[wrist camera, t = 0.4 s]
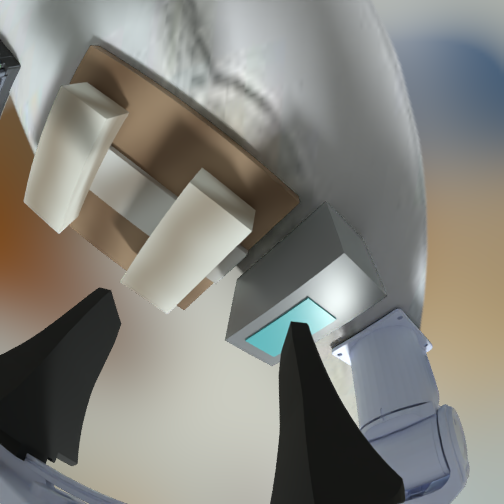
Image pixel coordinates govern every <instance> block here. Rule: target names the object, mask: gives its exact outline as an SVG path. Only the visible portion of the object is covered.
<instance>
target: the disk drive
mask: <svg viewBox="0 0 504 504" xmlns="http://www.w3.org/2000/svg"><path fill="white" fill-rule="evenodd" d="M20 67H21V65H20V64H19V63H18V61H17V60H16V59H15V57H14V56H13V54H12V53H11V52H10V51H9V50H8V49H7V47H6V46H5V45H4V44H3V42H2V41H1V40H0V117H1V115H2V112H3V110H4V107H5V104H6V102H7V99H8V97H9V95H10V93H9V91H10V89H11V86H12V84H13V82H14V80H15V78H16V76H17V74H18V72H19V70H20Z"/></svg>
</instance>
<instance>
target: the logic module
mask: <svg viewBox="0 0 504 504" xmlns="http://www.w3.org/2000/svg"><path fill="white" fill-rule="evenodd" d="M386 296H387V295H386V292H385V290H384V287H383V285H382V282H381V280H380V277H379V275H378V273H377V270H376V268H375V266H374V263H373V261H372V259H371V256H370V254H369V252H368V250H367V248H366V245H365V243H364V241H363V239H362V238H361V237H360V236H359V235H358V233H357V232H356V231H355V230H354V229H353V228H352V227H351V226H350V225H349V224H348V223H347V222H346V221H345V220H344V219H343V218H342V217H341V216H340V215H339V214H338V213H337V212H336V211H335V210H334V209H333V208H332V207H331V206H330V205H329V204H328V203H327V202H324V203H323V204H322V205H321V206H320V207H319V208H318V209H317V210H316V211H314V212H313V213H312V214H311V215H310V216H309V217H308V218H307V219H305V220H304V221H303V222H302V223H301V224H300V225H299V226H298V227H296V228H295V229H294V230H293V231H292V232H291V233H290V234H289V235H287V236H286V237H285V238H284V239H283V240H282V241H281V242H279V243H278V244H277V245H276V246H275V247H274V248H273V249H272V250H270V251H269V252H268V253H267V254H266V255H265V256H264V257H262V258H261V259H260V260H259V261H258V262H257V263H256V264H254V265H253V266H252V267H251V268H250V269H249V270H248V271H246V272H245V273H244V274H242V275H241V276H240V277H239V278H238V279H237V282H236V287H235V292H234V297H233V302H232V307H231V312H230V318H229V322H228V328H227V333H226V338H225V341H227V342H229V343H231V344H233V345H234V346H236V347H238V348H240V349H241V350H243V351H245V352H247V353H248V354H250V355H252V356H254V357H256V358H258V359H259V360H262V361H263V362H265V363H267V364H269V365H271V366H273V365H275V364H277V363H279V362H280V356H281V351H282V347H283V344H284V341H285V338H286V335H287V332H288V328H289V325H290V322H291V321H293V322H303V323H307V324H308V325H309V328H310V331H311V334H312V337H313V340H314V343H315V342H317V341H318V340H320V339H322V338H323V337H325V336H327V335H328V334H330V333H332V332H333V331H335V330H337V329H338V328H340V327H341V326H343V325H345V324H346V323H348V322H349V321H351V320H352V319H354V318H355V317H357V316H358V315H360V314H362V313H363V312H365V311H366V310H367V309H369V308H370V307H372V306H373V305H375V304H376V303H378V302H379V301H381V300H382V299H383V298H385V297H386Z"/></svg>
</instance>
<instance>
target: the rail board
mask: <svg viewBox="0 0 504 504" xmlns="http://www.w3.org/2000/svg"><path fill="white" fill-rule="evenodd" d="M24 203H26V204H27V205H28V206H29V207H30V208H31V209H32V210H33V211H34V212H35V213H36V214H37V215H38V216H40V217H41V218H42V219H43V220H44V221H45V222H46V223H47V224H48V225H49V226H51V227H52V228H53V229H54V230H55V231H56V232H58V233H60V232H62V231H63V230H64V229H65V228H66V227H67V226H68V225H69V226H70V227H71V228H73V229H74V230H75V231H76V232H77V233H78V234H80V235H81V236H82V237H83V238H85V239H86V240H87V241H88V242H90V243H91V244H92V245H93V246H95V247H96V248H97V249H98V250H100V251H101V252H102V253H104V254H105V255H107V256H108V257H109V258H110V259H111V260H113V261H114V262H115V263H117V264H118V265H120V266H121V267H122V268H124V269H125V270H126V271H127V272H126V273H125V275H124V276H123V278H122V280H121V281H120V282H121V283H122V284H124V285H125V286H127V287H128V288H129V289H131V290H132V291H134V292H135V293H136V294H138V295H139V296H141V297H142V298H144V299H145V300H147V301H148V302H150V303H151V304H153V305H154V306H156V307H157V308H159V309H160V310H162V311H163V312H165V313H166V314H168V313H169V312H170V311H171V310H172V309H173V308H174V307H175V306H176V305H177V306H178V307H180V308H181V309H183V310H185V309H186V308H187V307H188V306H189V305H190V304H191V303H192V302H193V301H195V300H196V299H197V298H198V297H199V296H200V295H201V294H202V293H203V292H204V291H205V290H206V289H207V288H208V287H210V285H212V284H213V283H215V284H216V283H217V282H218V281H220V280H221V279H222V278H223V277H224V276H225V275H226V274H227V273H228V272H229V271H230V270H232V268H234V267H235V266H236V265H237V264H238V263H239V262H240V261H241V260H242V259H243V258H245V257H246V256H247V254H248V250H249V249H250V248H252V247H253V246H254V245H255V244H256V243H257V242H258V241H259V240H260V239H261V238H262V237H263V236H264V235H266V234H267V233H268V232H269V231H270V230H271V229H272V228H273V227H274V226H275V225H276V224H277V223H278V222H280V221H281V220H282V219H283V218H284V217H285V216H286V215H287V214H288V213H289V212H290V211H291V210H293V209H294V208H295V207H296V206H297V205H298V204H299V203H300V201H299V196H298V195H296V194H295V193H294V192H293V191H292V190H291V189H290V188H289V187H288V186H287V185H285V184H284V183H283V182H282V181H281V180H280V179H279V178H277V177H276V176H275V175H274V174H273V173H272V172H271V171H269V170H268V169H267V168H266V167H265V166H264V165H262V164H261V163H260V162H259V161H258V160H257V159H255V158H254V157H253V156H252V155H251V154H249V153H248V152H247V151H246V150H245V149H243V148H242V147H241V146H240V145H239V144H237V143H236V142H235V141H234V140H232V139H231V138H230V137H229V136H227V135H226V134H225V133H224V132H222V131H221V130H220V129H219V128H217V127H216V126H215V125H213V124H212V123H211V122H210V121H208V120H207V119H206V118H204V117H203V116H202V115H200V114H199V113H198V112H196V111H195V110H194V109H192V108H191V107H190V106H188V105H187V104H186V103H184V102H183V101H182V100H180V99H179V98H177V97H176V96H175V95H173V94H172V93H170V92H169V91H168V90H166V89H165V88H163V87H162V86H161V85H159V84H158V83H156V82H155V81H153V80H152V79H150V78H149V77H147V76H146V75H144V74H143V73H141V72H140V71H138V70H137V69H135V68H134V67H132V66H131V65H129V64H128V63H126V62H124V61H123V60H121V59H120V58H118V57H117V56H115V55H113V54H112V53H110V52H108V51H107V50H105V49H103V48H102V47H100V46H94V45H90V47H89V49H88V50H87V52H86V54H85V55H84V57H83V59H82V61H81V63H80V64H79V66H78V68H77V70H76V72H75V74H74V76H73V78H72V80H71V82H70V84H69V85H63V86H61V87H60V89H59V91H58V94H57V96H56V98H55V101H54V103H53V105H52V108H51V110H50V113H49V115H48V118H47V121H46V123H45V126H44V129H43V132H42V134H41V137H40V140H39V144H38V147H37V150H36V153H35V157H34V160H33V164H32V168H31V171H30V176H29V180H28V184H27V188H26V193H25V198H24Z"/></svg>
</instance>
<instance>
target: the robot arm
mask: <svg viewBox="0 0 504 504" xmlns="http://www.w3.org/2000/svg"><path fill="white" fill-rule="evenodd" d="M120 326H121V322H120V319H119V315H118V312H117V309H116V306H115V302H114V299H113V296H112V292H111V290H107V289H103V288H98V289H96V290H95V291H94V292H92V293H91V294H90V295H88V296H87V297H86V298H84V299H83V300H82V301H81V302H79V303H78V304H77V305H76V306H74V307H73V308H72V309H70V310H69V311H68V312H67V313H65V314H64V315H63V316H62V317H60V318H59V319H58V320H56V321H55V322H54V323H52V324H51V325H49V326H48V327H47V328H45V329H44V330H43V331H41V332H40V333H38V334H37V335H35V336H34V337H32V338H31V339H29V340H27V341H26V342H24V343H22V344H21V345H19V346H17V347H15V348H13V349H11V350H9V351H8V352H6V353H4V354H1V355H0V503H1V504H86V503H85V502H87V503H89V504H126V503H124V502H121V501H118V500H116V499H114V498H111V497H108V496H106V495H104V494H101V493H99V492H97V491H95V490H92V489H91V488H88V487H86V486H84V485H82V484H80V483H78V482H76V481H74V480H72V479H71V478H69V477H67V476H65V475H63V474H61V473H60V472H58V471H56V470H55V469H53V468H51V467H49V466H48V465H46V461H47V459H48V460H50V461H52V462H53V463H54V462H55V460H56V458H58V459H59V460H61V461H63V462H65V463H67V464H68V465H70V466H74V465H76V464H77V463H78V450H79V442H80V435H81V430H82V425H83V421H84V416H85V412H86V409H87V405H88V402H89V398H90V395H91V392H92V390H93V387H94V385H95V382H96V380H97V378H98V376H99V374H100V372H101V370H102V368H103V366H104V364H105V362H106V360H107V357H108V355H109V353H110V351H111V349H112V347H113V345H114V343H115V340H116V337H117V335H118V332H119V329H120ZM431 349H432V344H431V343H430V341H429V340H428V339H427V338H426V337H425V336H424V335H423V333H422V332H421V331H420V330H419V329H418V328H417V326H416V325H415V324H414V323H413V322H412V321H411V320H410V319H409V318H408V316H407V315H406V314H405V313H404V312H403V311H402V310H401V309H395V310H394V311H392V312H391V313H389V314H388V315H386V316H385V317H383V318H382V319H380V320H379V321H377V322H376V323H374V324H373V325H371V326H369V327H368V328H366V329H365V330H363V331H361V332H360V333H358V334H357V335H355V336H353V337H352V338H350V339H348V340H347V341H345V342H343V343H342V344H340V345H338V346H336V347H335V348H333V349H332V354H333V355H334V356H336V357H337V358H339V359H341V360H342V361H344V362H346V363H347V364H349V365H351V368H352V374H353V381H354V388H355V395H356V402H357V410H358V419H359V428H360V430H359V428H358V427H357V425H356V424H355V422H354V421H353V419H352V418H351V416H350V415H349V413H348V411H347V410H346V408H345V406H344V405H343V403H342V401H341V399H340V398H339V396H338V394H337V392H336V390H335V388H334V386H333V384H332V382H331V380H330V378H329V376H328V374H327V371H326V369H325V367H324V365H323V363H322V360H321V358H320V355H319V353H318V350H317V348H316V345H315V343H314V340H313V337H312V334H311V331H310V328H309V325H308V324H307V323H303V322H293V321H291V322H290V325H289V328H288V332H287V335H286V338H285V341H284V344H283V347H282V351H281V356H280V367H279V405H280V407H279V408H280V435H279V445H278V455H277V463H276V472H275V478H274V484H273V491H272V497H271V502H270V504H450V503H451V502H452V501H453V500H454V499H455V498H456V497H457V496H458V494H459V493H460V492H461V491H462V490H463V488H464V487H465V485H466V482H467V479H468V477H469V462H468V457H467V456H468V455H467V445H466V440H465V436H464V431H463V428H462V425H461V422H460V419H459V416H458V414H457V412H456V410H455V409H454V408H453V407H450V406H448V405H446V404H445V405H443V406H439V405H438V404H439V391H438V388H437V385H436V381H435V378H434V375H433V372H432V369H431V366H430V363H429V360H428V357H427V354H426V352H428V351H429V350H431ZM54 485H56V486H57V487H59V488H61V489H62V490H64V491H66V492H68V493H70V494H71V495H70V494H68V493H65V492H63V491H61V490H58V489H56V488H55V487H54ZM80 499H81V500H83V501H85V502H83V501H81V500H80Z"/></svg>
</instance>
